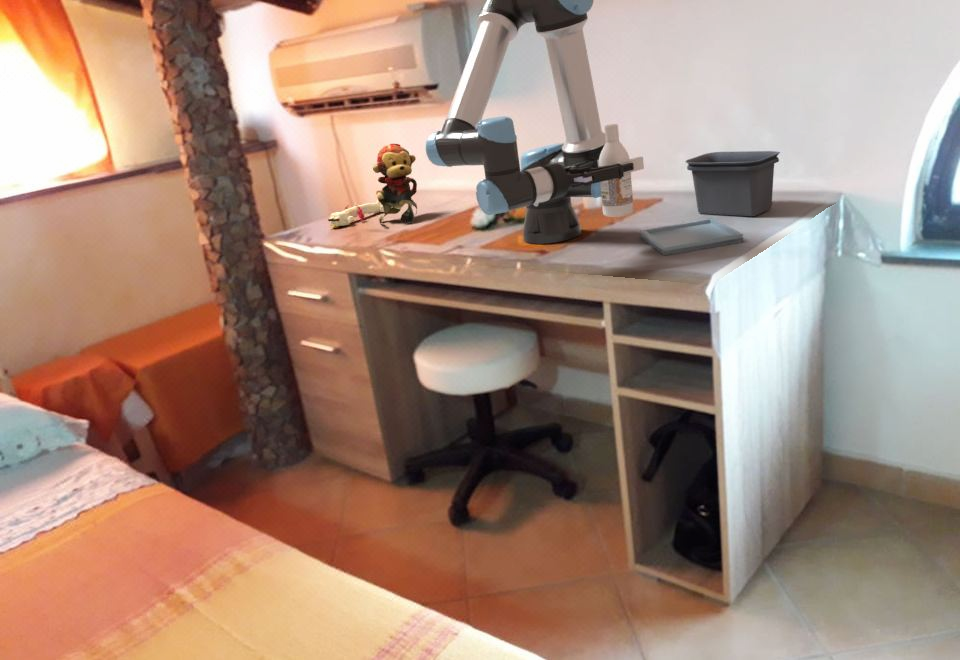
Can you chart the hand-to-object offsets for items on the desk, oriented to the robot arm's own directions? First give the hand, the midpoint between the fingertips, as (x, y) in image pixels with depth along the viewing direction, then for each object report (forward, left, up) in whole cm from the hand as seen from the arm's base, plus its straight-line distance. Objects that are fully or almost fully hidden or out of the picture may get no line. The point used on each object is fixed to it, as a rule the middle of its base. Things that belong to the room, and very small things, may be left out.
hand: (632, 161), depth 177 cm
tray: (+3, +11, -20) cm, 23 cm away
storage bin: (-16, +30, -20) cm, 40 cm away
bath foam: (+2, -5, -11) cm, 12 cm away
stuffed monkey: (-75, -57, -20) cm, 96 cm away
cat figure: (-89, -71, -20) cm, 116 cm away
